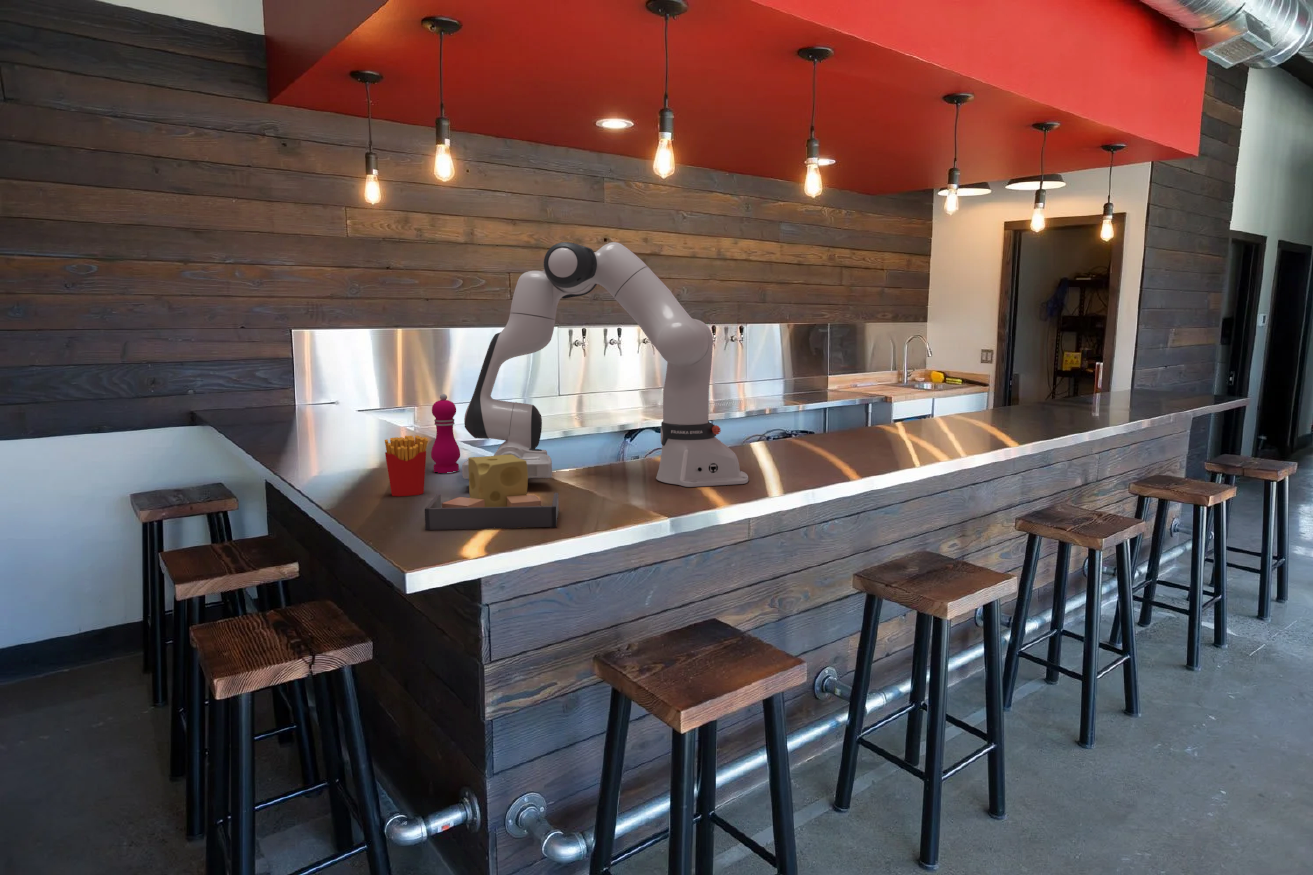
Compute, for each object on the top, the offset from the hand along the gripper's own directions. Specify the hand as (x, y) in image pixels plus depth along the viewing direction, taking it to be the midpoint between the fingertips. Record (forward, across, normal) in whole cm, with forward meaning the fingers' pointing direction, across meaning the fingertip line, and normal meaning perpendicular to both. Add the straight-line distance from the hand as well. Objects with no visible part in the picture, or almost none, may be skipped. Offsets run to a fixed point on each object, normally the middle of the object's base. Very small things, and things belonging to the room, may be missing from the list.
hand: (504, 475), depth 175 cm
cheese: (+7, -1, +5) cm, 8 cm away
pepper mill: (-30, -18, +5) cm, 36 cm away
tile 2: (+14, +5, +5) cm, 15 cm away
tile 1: (+15, -7, +5) cm, 18 cm away
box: (+20, 0, +5) cm, 20 cm away
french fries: (-5, -22, +5) cm, 23 cm away
